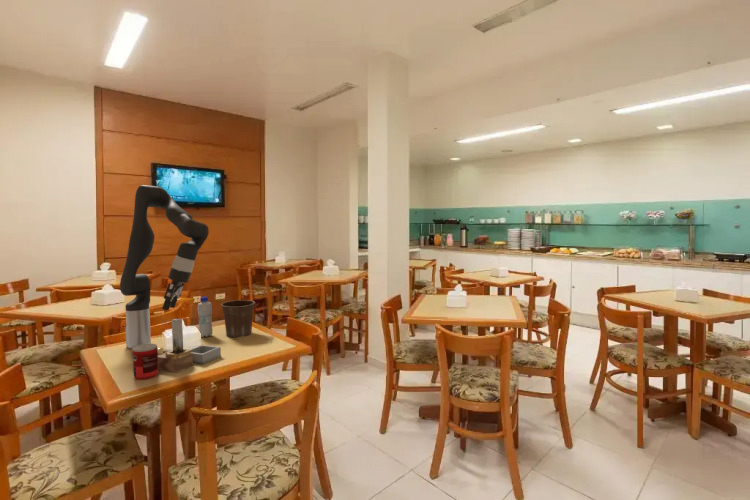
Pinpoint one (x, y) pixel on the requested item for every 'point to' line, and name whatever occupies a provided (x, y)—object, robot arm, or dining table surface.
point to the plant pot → (238, 317)
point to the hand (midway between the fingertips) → (168, 308)
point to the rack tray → (205, 353)
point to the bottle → (205, 317)
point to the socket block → (175, 360)
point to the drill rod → (177, 336)
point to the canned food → (145, 361)
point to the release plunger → (160, 350)
